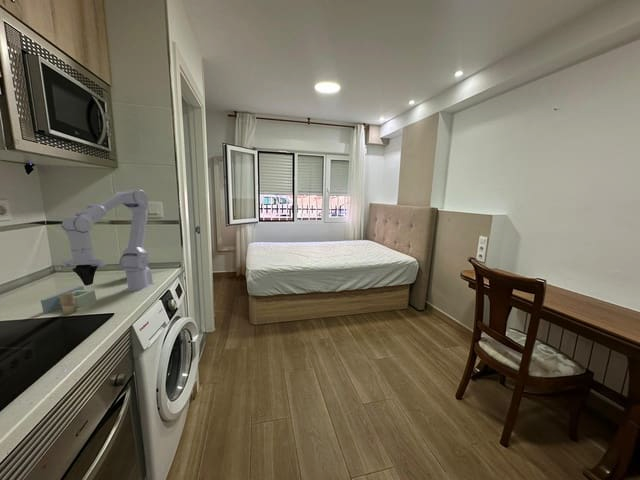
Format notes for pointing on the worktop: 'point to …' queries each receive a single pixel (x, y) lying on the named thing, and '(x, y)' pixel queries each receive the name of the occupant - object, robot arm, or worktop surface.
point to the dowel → (68, 303)
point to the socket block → (82, 297)
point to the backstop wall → (56, 300)
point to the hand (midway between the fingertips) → (88, 284)
